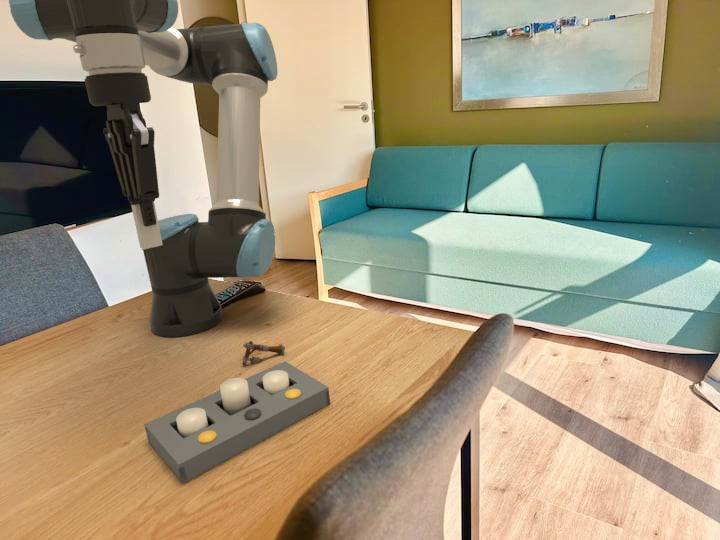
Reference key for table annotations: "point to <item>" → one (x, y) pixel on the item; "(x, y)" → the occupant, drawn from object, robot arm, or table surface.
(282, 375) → the button
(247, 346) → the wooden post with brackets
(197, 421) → the button
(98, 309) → the table surface
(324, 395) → the console
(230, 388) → the button
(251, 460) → the table surface
